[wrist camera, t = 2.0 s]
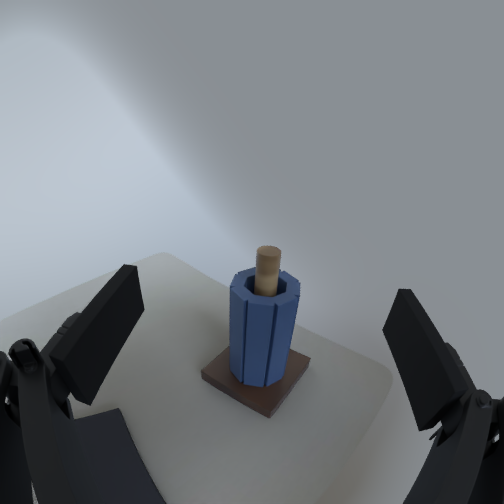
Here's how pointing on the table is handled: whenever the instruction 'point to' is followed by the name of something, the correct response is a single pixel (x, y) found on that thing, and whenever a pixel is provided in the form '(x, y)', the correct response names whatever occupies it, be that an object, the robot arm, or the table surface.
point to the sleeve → (261, 328)
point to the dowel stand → (274, 394)
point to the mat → (115, 460)
